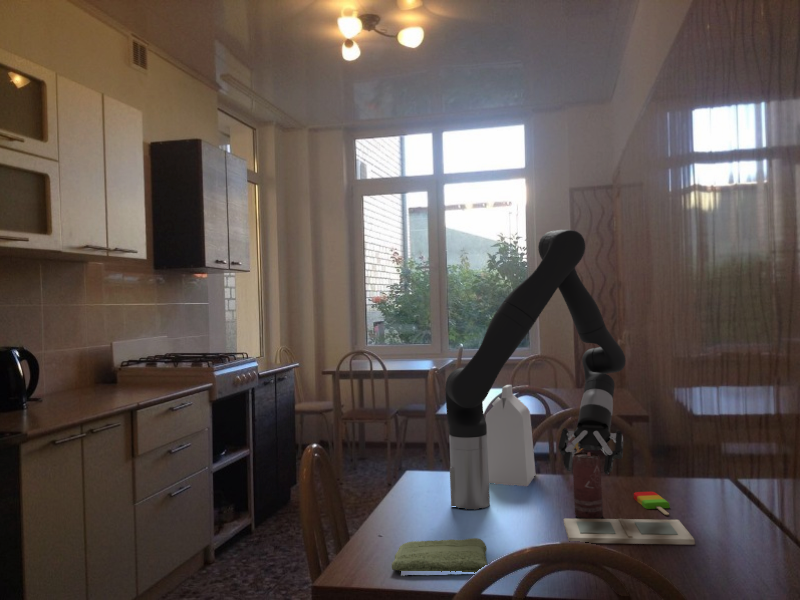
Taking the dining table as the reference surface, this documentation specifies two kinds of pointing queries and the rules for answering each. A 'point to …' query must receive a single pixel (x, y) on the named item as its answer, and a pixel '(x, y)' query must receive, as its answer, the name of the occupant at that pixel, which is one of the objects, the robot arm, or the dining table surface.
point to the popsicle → (652, 501)
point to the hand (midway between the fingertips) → (587, 470)
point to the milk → (509, 441)
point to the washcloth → (441, 555)
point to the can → (587, 485)
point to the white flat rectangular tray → (628, 531)
